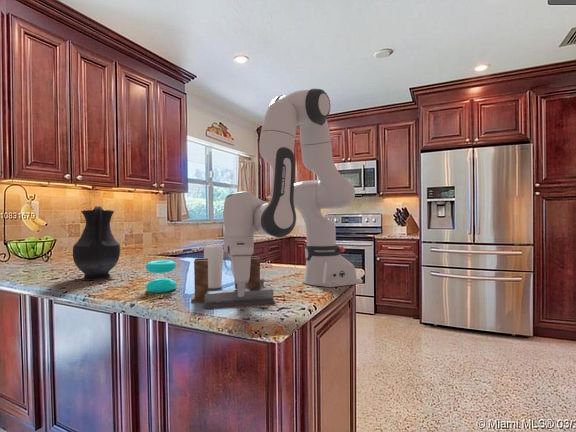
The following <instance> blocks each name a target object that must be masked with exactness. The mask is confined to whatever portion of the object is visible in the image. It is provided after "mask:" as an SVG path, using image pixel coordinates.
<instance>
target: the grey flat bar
mask: <svg viewBox="0 0 576 432" xmlns="http://www.w3.org/2000/svg"><path fill="white" fill-rule="evenodd" d="M275 302H276V301H275V300H274V299H273V300H261V301H247V302H232V303H218V304H205V303H204V310H205V309H214V308H215V309H219V308H229V307H233V308H234V307H244V306H245V307H246V306H258V305H272V304H276V303H275Z"/></svg>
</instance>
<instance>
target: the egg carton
mask: <svg viewBox="0 0 576 432" xmlns="http://www.w3.org/2000/svg"><path fill="white" fill-rule="evenodd" d="M264 282H265V279H264V278H260V288H265V287H264V286H265V285H264ZM245 289H246V283H245Z"/></svg>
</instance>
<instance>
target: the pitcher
mask: <svg viewBox="0 0 576 432" xmlns="http://www.w3.org/2000/svg"><path fill="white" fill-rule="evenodd" d="M81 214H82V215H83V216H84V219H85V225H84V228H83V230H82V234H81V236H80V237H79V238H78V240H77V242H76V243H75V244H74V245H72V260H73V261H74V264H75V266H76V268H77V269H78V270H80V271H81V272H82V273H83V274H84V277H83V279H84V280H87V281H90V280H92V281H95V280H103V279H108V278H110V277H111V275H110V273H109V272H110V271H111V270H112V269H113V268H114V267H116V265H117V263H118V261H119V259H120V256H121V245H120V243H119V242H118V241H117V240H116V239H115V237H114V236H113V235H114V234H113V233H112V230H111V220H112V216H113V215H114V214H115V210H111V209H105V210H104V209H103V207H102V206H97V205H95V206H94V208H93V209H87V210H85V209H84V210H81Z"/></svg>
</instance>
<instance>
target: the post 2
mask: <svg viewBox="0 0 576 432" xmlns="http://www.w3.org/2000/svg"><path fill="white" fill-rule="evenodd" d="M260 279H261V258H260V257H259V256H256V255H255V256H253V255H251V265H250V277H249V282H248V283H246V289H255V288H260Z"/></svg>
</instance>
